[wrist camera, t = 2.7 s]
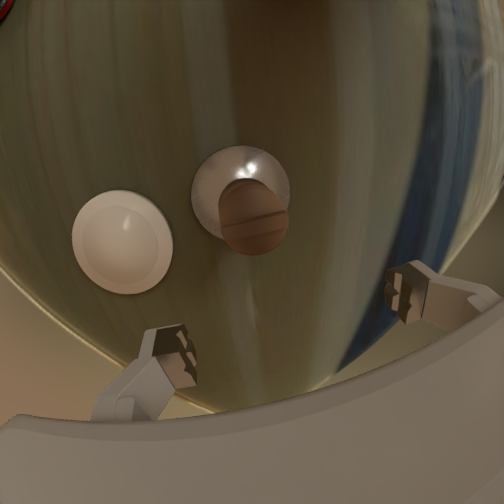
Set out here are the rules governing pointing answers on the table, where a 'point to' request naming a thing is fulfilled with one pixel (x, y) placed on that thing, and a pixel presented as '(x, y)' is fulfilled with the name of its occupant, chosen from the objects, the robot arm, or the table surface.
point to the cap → (252, 217)
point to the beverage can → (4, 7)
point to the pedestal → (228, 170)
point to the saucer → (122, 241)
